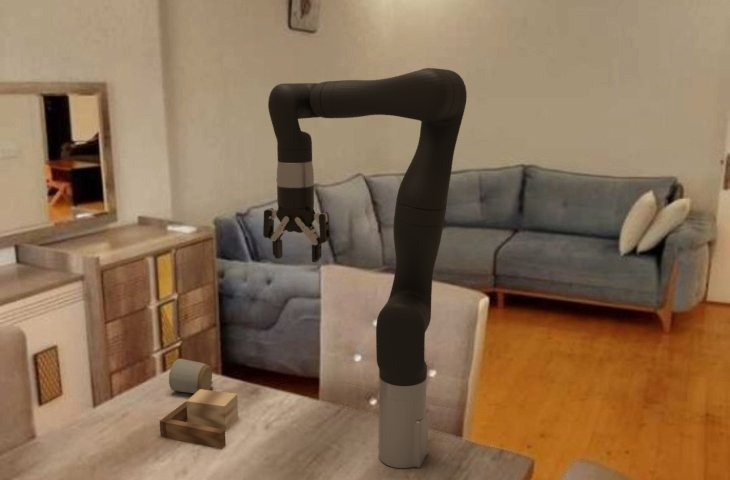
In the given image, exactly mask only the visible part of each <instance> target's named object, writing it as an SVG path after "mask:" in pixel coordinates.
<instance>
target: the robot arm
mask: <svg viewBox="0 0 730 480" xmlns="http://www.w3.org/2000/svg"><path fill="white" fill-rule="evenodd" d="M467 94H468V93H467V88H466V84H465V81H464V79H463V77H461V75H460V74H459V73H457V72H455V71H454V70H451V69H447V68H446V69H444V68H436V67H434V68H433V67H426V68H425V67H424V68H421V69H418V70H416V71H411V72H408V73H404V74H400V75H395V76H391V77H386V78H380V79H365V80H364V79H346V80H345V79H344V80H342V79H341V80H329V81H322V82H311V83H310V82H307V83H306V82H305V83H302V82H301V83H286V82H285V83H279V84H276V85H275V86H274V87H273V88H272V90H271V91H270V93H269V96H268V102H267V103H268V104H267V107H268V114H269V116H270V117H269V118H270V122H271V125H272V128H273V133H274V135H275V139H276V143H277V148H276V149H277V168H276V195H277V197H276V198H277V201H276V203H277V209H274V208H273V207H270V208H267V209H265V210H264V211H263V229H262V231H263V232H262V233H263V234H262V235H263V237H264V238H265V239H266V238H268V239H269V240H271V242H272V244H271V245H272V255H273V256H274V259H279V260H280V259H281V258H282V257H283V240H282V239H281V238H283V236H284V235H285V233H292V232H294V233H295V232H296V233H297V234H301V233H303V234H304V235H305V237H306V238H308V240H310V242H311V262H312V263H317V262H319V261H320V259H321V258H322V244H324V243H326V242H328V241H330V240H331V228H330V227H331V226H330V215H329V212H327V211H324V212H323V213H318V212H317V213H316V212H315V209H314V207H315V206H314V205H315V185H314V184H315V181H314V180H315V179H314V178H315V177H314V173H315V172H314V165H313V141H312V136H311V135H310V133H308V132H306V131H302V130H301V127H300V123H299V120H301V119H312V118H313V119H315V118H316V119H317V118H322V119H351V118H352V119H353V118H361V117H369V116H392V117H399V118H404V119H410V120H415V121H420V122H421V124H420V131H419V132H420V133H419V138H418V143H417V148H416V150H415V153H414V155H413V157H412V159H411V162H410V164H409V166H408V168H407V169H406V171H405V174H404V175H403V178H402V180H401V182H400V185H399V188H398V191H397V196H396V201H395V207H394V208H395V210H394V216H393V229H392V231H393V245H394V252H395V270H394V276H393V277H394V278H393V281H392V286H391V290H390V294H389V297H388V300H387V302H386V303H385V304H384V306H383V307H382V309H381V310H380V311H379V313H378V316H377V318H376V323H375V324H376V325H375V326H376V327H375V328H376V329H375V343H376V344H375V345H376V346H375V347H376V349H375V350H376V351H375V352H376V363H377V367H378V447H377V448H378V459H379V461H381V462H382V463H383V464H385V465H386V466H389V467H392V468H396V469H397V468H398V469H410V468H421V466H422V464H423V462H424V461H425V459H426V457H427V454H428V450H429V449H428V447H429V445H428V443H429V418H430V417H429V409H427V384H428V379H427V377H428V376H427V375H428V364H427V362H426V361H425V351H426V350H425V348H426V347H425V344H426V343H425V341H426V340H425V339H426V336H425V335H426V332H427V330H428V327H429V326H430V323H431V319H432V294H433V293H432V292H433V290H432V289H433V275H434V270H435V269H434V268H435V266H436V265H435V264H436V261H437V257H438V253H439V250H440V246H441V245H440V244H441V241H442V235H443V230H444V225H445V218H446V212H447V205H448V195H449V187H450V181H451V176H452V171H453V170H452V169H453V160H454V154H455V149H456V145H457V140H458V138H459V137H458V136H459V133H460V129H461V124H462V121H463V118H464V113H465V109H466V104H467V98H468V96H467ZM276 218H277V219H278V221H279V222H280V223H279V225H277V227H276V229H274V227H275V220H276ZM315 220H316V222H317V224H318V226H319V232H318V228H316V226H315V225H314V221H315ZM274 230H275V231H274Z"/></svg>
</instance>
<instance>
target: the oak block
mask: <svg viewBox="0 0 730 480" xmlns="http://www.w3.org/2000/svg"><path fill="white" fill-rule="evenodd" d="M185 402H186V404H187V419H188V421H187V422H188V423H193V424H198V425H203V426H208V427H213V428H218V429H223V430H225V433H226V432H227V431H228V430H229V429H230V428H231V427H232V426H233V424H234V423H235V422H236V421H237V420H238V419H239V407H238V405H239V404H238V394H237V393H232V392H225V391H224V392H223V391H218V390H213V391H211V390H203V389H199V390H198V391H197V392H196V393H193V395H191V396H190V397H189V398H188V399H187V400H186V401H185Z"/></svg>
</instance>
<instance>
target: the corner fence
mask: <svg viewBox="0 0 730 480" xmlns="http://www.w3.org/2000/svg"><path fill="white" fill-rule="evenodd" d="M203 390H211V391H214V389H213V386H211V385H210V386H206V387H204V388H203ZM159 431H160V434H159V435H160V437H163V438H167V439H172V440H178V441H182V442H187V443H191V444H196V445H200V446H206V447H210V448H215V449H220V450H222V449H224V448H225V447H226V446H227V443H226V432H225V430H223V429H218V428H213V427H208V426H203V425H198V424H193V423H188V419H187V404H186V401H184V402H182V404H180V405H178V407H176V408H175V409H174V410H172V411H171V412H169V413H168V414H167V415H166V416H164V417H163V418H161V419H160V420H159Z"/></svg>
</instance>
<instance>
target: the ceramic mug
mask: <svg viewBox="0 0 730 480" xmlns="http://www.w3.org/2000/svg"><path fill="white" fill-rule="evenodd" d="M169 370H170V371H169V374H168V384H169V385H168V386H169V387H170V389H171V391H174V392H181V393H188V394H189V393H191V394H195V393H196V392H197V391H198V390H199V389H203V388H204V387H206V386H211V383H212V380H213V371H212V368H211V367H210V365H208V364H206V363H203V362H199V361H194V360H189V359H184V358H178V359H176V360H175V361H174V362H173V364H171V368H170V369H169Z"/></svg>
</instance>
